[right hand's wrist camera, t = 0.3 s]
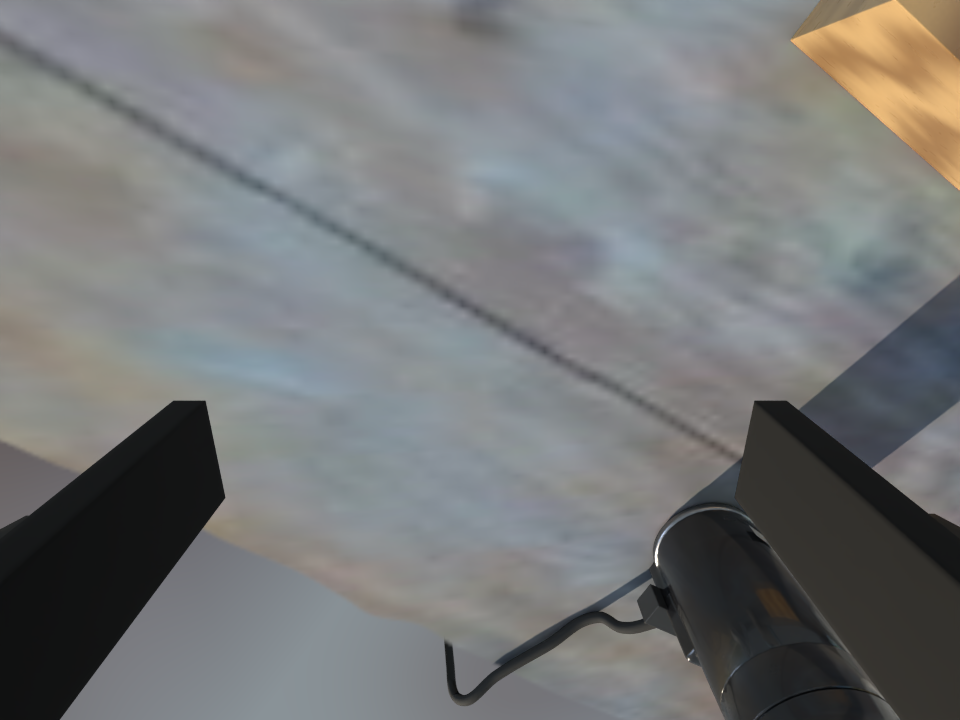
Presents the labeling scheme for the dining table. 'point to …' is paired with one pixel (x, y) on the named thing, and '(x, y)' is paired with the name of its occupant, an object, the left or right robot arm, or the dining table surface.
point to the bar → (896, 67)
